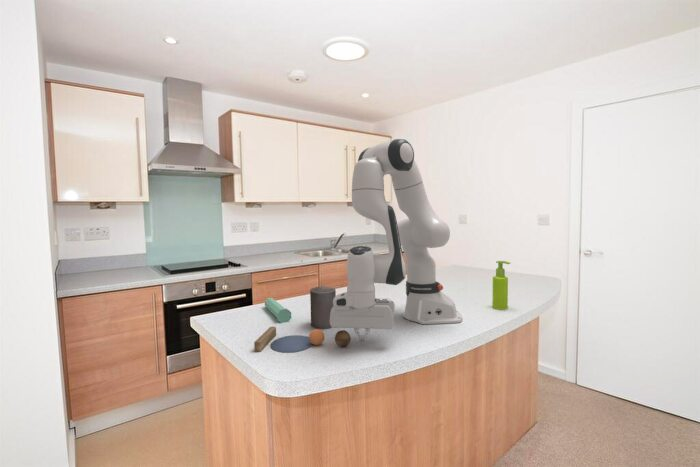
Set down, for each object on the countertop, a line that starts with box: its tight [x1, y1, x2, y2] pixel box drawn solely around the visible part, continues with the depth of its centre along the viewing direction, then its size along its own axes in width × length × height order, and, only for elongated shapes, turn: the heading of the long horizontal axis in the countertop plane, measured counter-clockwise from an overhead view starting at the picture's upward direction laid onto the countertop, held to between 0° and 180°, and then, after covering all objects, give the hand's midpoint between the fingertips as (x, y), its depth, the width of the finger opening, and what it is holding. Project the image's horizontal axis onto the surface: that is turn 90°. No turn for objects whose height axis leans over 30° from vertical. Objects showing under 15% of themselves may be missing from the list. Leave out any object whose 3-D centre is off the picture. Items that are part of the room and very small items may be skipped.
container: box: [264, 297, 292, 324], centre depth 148 cm, size 6×6×25 cm
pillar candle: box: [309, 285, 337, 330], centre depth 133 cm, size 10×10×15 cm
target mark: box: [270, 334, 314, 354], centre depth 116 cm, size 14×14×1 cm
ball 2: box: [334, 329, 352, 347], centre depth 113 cm, size 5×5×5 cm
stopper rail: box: [253, 326, 277, 352], centre depth 117 cm, size 2×14×3 cm, turn 172°
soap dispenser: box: [491, 260, 511, 311], centre depth 149 cm, size 6×7×20 cm
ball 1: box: [308, 328, 325, 346], centre depth 114 cm, size 5×5×5 cm
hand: (362, 341), depth 112 cm, fingers closed
